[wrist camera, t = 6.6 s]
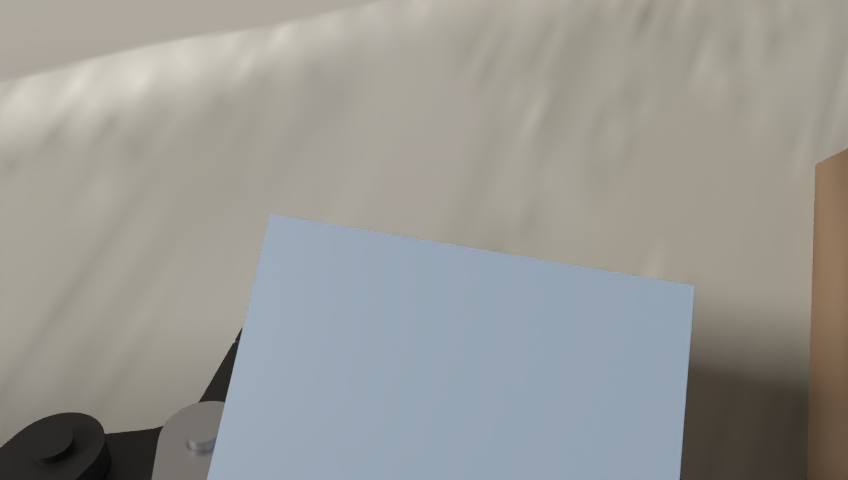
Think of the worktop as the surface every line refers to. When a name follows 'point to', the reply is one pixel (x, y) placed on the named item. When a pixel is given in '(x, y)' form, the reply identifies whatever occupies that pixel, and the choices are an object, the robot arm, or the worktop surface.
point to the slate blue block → (450, 365)
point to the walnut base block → (829, 325)
